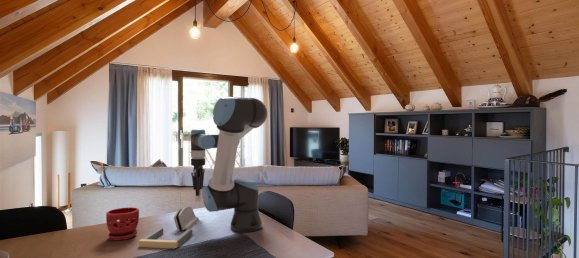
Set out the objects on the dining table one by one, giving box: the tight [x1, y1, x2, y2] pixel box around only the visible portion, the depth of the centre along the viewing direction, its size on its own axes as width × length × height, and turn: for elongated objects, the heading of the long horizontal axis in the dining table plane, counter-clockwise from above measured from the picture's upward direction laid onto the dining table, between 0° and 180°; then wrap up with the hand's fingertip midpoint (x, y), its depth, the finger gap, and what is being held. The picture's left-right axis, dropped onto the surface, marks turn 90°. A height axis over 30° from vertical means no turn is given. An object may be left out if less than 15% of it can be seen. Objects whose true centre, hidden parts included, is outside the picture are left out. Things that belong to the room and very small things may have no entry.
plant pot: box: [105, 206, 140, 241], centre depth 144 cm, size 13×13×12 cm
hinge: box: [173, 206, 200, 232], centre depth 158 cm, size 17×5×10 cm, turn 177°
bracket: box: [138, 227, 193, 249], centre depth 138 cm, size 16×16×2 cm
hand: (198, 201), depth 173 cm, fingers closed
